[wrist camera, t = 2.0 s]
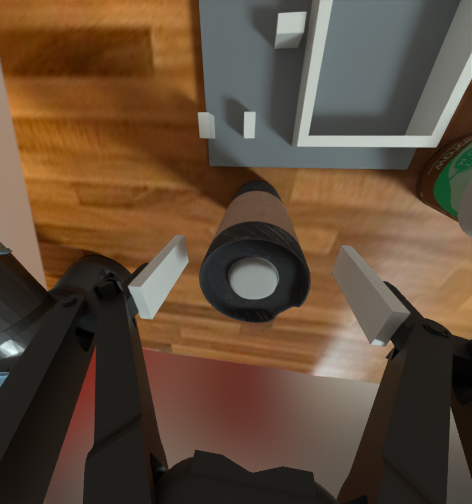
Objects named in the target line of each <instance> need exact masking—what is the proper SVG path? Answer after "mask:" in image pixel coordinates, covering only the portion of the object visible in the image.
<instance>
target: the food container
mask: <svg viewBox="0 0 472 504" xmlns="http://www.w3.org/2000/svg"><path fill="white" fill-rule="evenodd" d="M416 188H417V194H418V197H419V198H420V200H421V201H422V202H423V203H424V204H426V205H428V206H430V207H431V208H433V209H435V210H437V211H439V212H441V213H442V214H444V215H446V216H448V217H450V218H452V219H454V220H455V221H457V222H459V225H460V226H461V228H462V230H463V231H464V232H465V233H466V234H467V235H468V236H470V237H472V133H471V134H468V135H464V136H461V137H459V138H457V139H455V140H453V141H451V142H450V143H448V144H446V145H444V146H443V147H442V148H441V149H439V150H438V151H437V152H436V153H435V154H434V155H433V156H432V157H431V158H430V159H429V160H428V161H427V163H426V164H425V165H424V167H423V169H422V170H421V172H420V174H419V177H418V180H417V187H416Z"/></svg>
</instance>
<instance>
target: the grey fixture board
mask: <svg viewBox="0 0 472 504" xmlns="http://www.w3.org/2000/svg"><path fill="white" fill-rule="evenodd" d="M460 1H461V0H333V3H332V8H331V14H330V19H329V25H328V30H327V36H326V41H325V47H324V52H323V58H322V63H321V69H320V74H319V80H318V85H317V91H316V97H315V102H314V108H313V113H312V119H311V124H310V130H309V135H308V136H405V133H406V131H407V129H408V126H409V124H410V121H411V119H412V117H413V114H414V112H415V109H416V107H417V105H418V102H419V100H420V97H421V95H422V93H423V90H424V88H425V85H426V83H427V81H428V78H429V76H430V73H431V71H432V69H433V66H434V64H435V61H436V59H437V57H438V54H439V52H440V49H441V47H442V44H443V42H444V40H445V37H446V35H447V32H448V30H449V28H450V25H451V23H452V20H453V18H454V16H455V13H456V11H457V8H458V6H459V4H460ZM311 7H312V0H199V11H200V27H201V42H202V57H203V73H204V88H205V103H206V112H209V113H210V114H212V115H213V116H214V124H215V139H208V149H209V165H210V166H230V167H287V168H345V169H402V170H407V169H408V167H409V165H410V163H411V160H412V158H413V156H414V154H415V152H416V149H417V147H297V146H292V139H293V132H294V125H295V118H296V111H297V104H298V97H299V90H300V83H301V76H302V69H303V62H304V55H305V48H306V42H307V35H308V28H309V21H310V14H311ZM291 12H307V13H306V21H305V28H304V33H303V36H302V38H301V41H300V43H299V46H298V48H283V49H274V47H275V35H276V27H277V20H278V13H291ZM244 112H255V113H256V122H255V139H245V138H244Z"/></svg>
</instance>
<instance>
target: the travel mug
mask: <svg viewBox="0 0 472 504" xmlns="http://www.w3.org/2000/svg"><path fill="white" fill-rule="evenodd" d="M199 282H200V287H201V290H202V292H203V294H204V296H205V298H206V299H207V301H208V302H209V303H210V304H211V305H212V306H213V307H214V308H215V309H216V310H218V311H219V312H221V313H222V314H224V315H226V316H228V317H230V318H233V319H236V320H239V321H244V322H250V323H265V322H270V321H272V320H273V319H274V318H275V317H276V316H277V315H278V314H279V313H281V312H283V311H285V310H287V309H289V308H291V307H300V306H301V305H302V304H303V303H304V302H305V300H306V298H307V296H308V293H309V290H310V282H311V279H310V272H309V269H308V266H307V263H306V260H305V258H304V255H303V252H302V250H301V247H300V244H299V242H298V239H297V237H296V234H295V231H294V229H293V226H292V223H291V221H290V218H289V216H288V213H287V210H286V208H285V206H284V204H283V202H282V201H281V199H280V197H279V195H278V193H277V191H276V190H275V189H274V187H273V186H272V185H270V184H269V183H267V182H264V181H260V180H255V181H251V182H248V183H246V184H245V185H243V186H242V187H241V188H240V189H239V191H238V192H237V194H236V195H235V197H234V198H233V200H232V202H231V203H230V205H229V207H228V208H227V210H226V213H225V215H224V217H223V219H222V221H221V223H220V226H219V228H218V230H217V232H216V234H215V236H214V239H213V241H212V243H211V245H210V247H209V249H208V251H207V254H206V256H205V258H204V260H203V262H202V265H201V269H200V275H199Z"/></svg>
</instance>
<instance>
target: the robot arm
mask: <svg viewBox="0 0 472 504" xmlns="http://www.w3.org/2000/svg"><path fill="white" fill-rule="evenodd" d="M10 252H12V251H11V250H10V249H9V248H6V247H5V246H4V245H3V244H2V243H1V242H0V504H43V502H44V499H45V496H46V493H47V490H48V487H49V484H50V481H51V478H52V475H53V472H54V469H55V465H56V463H57V460H58V457H59V453H60V450H61V448H62V445H63V442H64V439H65V436H66V433H67V430H68V426H69V424H70V420H71V418H72V415H73V412H74V409H75V406H76V403H77V400H78V397H79V394H80V391H81V388H82V384H83V382H84V379H85V376H86V373H87V370H88V367H89V364H90V361H91V358H92V355H93V352H94V349H95V346H96V380H95V382H96V383H95V384H96V385H95V428H94V429H95V432H94V445H93V448H92V449H91V450H90V452H89V453H88V455H87V458H86V463H85V472H84V492H83V504H446V497H447V475H448V450H449V428H450V406H451V409H452V413H453V416H454V419H455V423H456V426H457V430H458V433H459V437H460V440H461V444H462V447H463V450H464V454H465V457H466V461H467V464H468V467H469V471H470V474H471V478H472V339H471V340H468V339H465V338H461V337H458V336H455V335H452V334H451V333H450V332H449V330H448V329H446V328H445V327H444V326H442V325H441V324H439V323H437V322H435V321H433V320H430V319H427V318H424V317H423V316H422V315H421V314H420V313H419V312H418V311H417V310H416V309H415V308H414V307H413V306H412V305H411V303H410V302H409V301H408V300H406V298H405V297H404V296H403V295H401V293H400V292H399V291H398V289H397V288H396V287H394V286H393V285H391V284H390V283H388V282H386V281H382V280H381V279H380V278H379V277H378V275H377V274H376V273H375V272H374V271H373V270H372V269H371V267H370V266H369V265H368V264H367V263H366V262H365V261H364V260H363V258H362V257H361V256H360V255H359V254H358V253H357V252H356V250H355V249H354V248H353V247H352V246H344V245H341V248H340V251H339V254H338V257H337V259H336V262H335V265H334V268H333V270H332V274H333V276H334V278H335V280H336V281H337V283H338V285H339V287H340V289H341V291H342V293H343V294H344V296H345V298H346V300H347V302H348V304H349V305H350V307H351V309H352V311H353V313H354V315H355V317H356V318H357V320H358V322H359V324H360V326H361V328H362V330H363V331H364V333H365V335H366V337H367V339H368V341H369V342H370V344H371V345H379V346H386V345H387V343H388V342H389V341H390V340H391V341H392V343H393V344H394V346H395V347H394V348H393V349H392V350H391V352H390V353H389V354H388V355H387V356H386V358H387V359H388V362H387V365H386V368H385V371H384V374H383V377H382V380H381V383H380V386H379V389H378V392H377V395H376V398H375V400H374V403H373V407H372V409H371V412H370V415H369V418H368V421H367V424H366V427H365V430H364V433H363V436H362V439H361V442H360V445H359V448H358V450H357V453H356V456H355V459H354V462H353V465H352V468H351V471H350V473H349V475H348V477H347V479H346V480H345V482H344V483H343V486H342V487H341V489H340V492H339V495H338V497H337V500H336V499H335V498H334V497H333V496H332V495H331V494H330V493H329V492H328V491H327V490H326V489H325V488H324V487H322V486H321V485H320V484H318V483H317V482H315V481H314V476H313V472H309V471H304V470H298V469H293V468H288V467H283V466H282V467H278V468H273V469H269V470H264V471H259V472H255V473H252V472H249V471H247V470H246V469H244V468H243V467H241V466H239V465H238V464H236V463H234V462H233V461H231V460H230V459H228V458H226V457H225V456H223V455H220V454H215V453H209V452H205V451H199V450H195V453H194V457H190V458H187V459H185V460H182V461H181V462H179V463H177V464H176V465H174V466H173V467H172V468H171V469H168V465H167V460H166V456H165V452H164V449H163V446H162V443H161V440H160V436H159V431H158V426H157V421H156V416H155V411H154V406H153V401H152V396H151V391H150V386H149V381H148V376H147V371H146V366H145V361H144V356H143V351H142V346H141V341H140V337H139V332H138V327H137V322H136V319H135V316H136V315H137V313H138V312H139V314H140V317H141V318H144V319H153V317H154V316H155V314H156V313H157V311H158V309H159V308H160V306H161V305H162V303H163V301H164V300H165V298H166V297H167V295H168V293H169V292H170V290H171V289H172V287H173V285H174V284H175V282H176V281H177V279H178V277H179V276H180V274H181V273H182V271H183V269H184V268H185V266H186V265H187V263H188V255H187V249H186V243H185V237H184V236H182V235H176V236H175V237H174V238H173V239H172V240H171V241H170V242H169V243H168V244H167V245H166V246H165V247H164V248H163V249H162V250H161V251H160V252H159V254H158V255H157V256H156V257H155V258H154V259H153V260H152V261H151V262H150V263H145V264H143V265H141V266H139V267H138V268H137V269H136V270H135V272H133V273H132V274H130V273H129V272H128V271H127V270H126V269H125V268H124V267H122V266H121V265H120V264H118V263H116V262H115V261H113V260H110V259H108V258H105V257H101V256H96V255H89V256H84V257H82V258H80V259H79V260H77V261H75V262H74V263H72V264H71V265H70V266H69V267H68V269H67V271H66V272H65V273H64V274H63V276H62V277H61V278H60V279H59V281H58V282H57V283H56V284H55V286H54V287H53V288H52V289H51V290H49V291H48V292H47V291H46V289H45V288H44V287H43V286H42V285H41V284H40V283H38V281H37V280H36V279H35V278H34V277H33V276H32V275H31V274H30V273H29V272H28V271H27V270H26V269H25V268H24V267H23V265H22V264H21V263H20V262H19V261H18V260H17V259H16V258H15V257H14V256H13V255H12V254H11V253H10Z"/></svg>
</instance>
